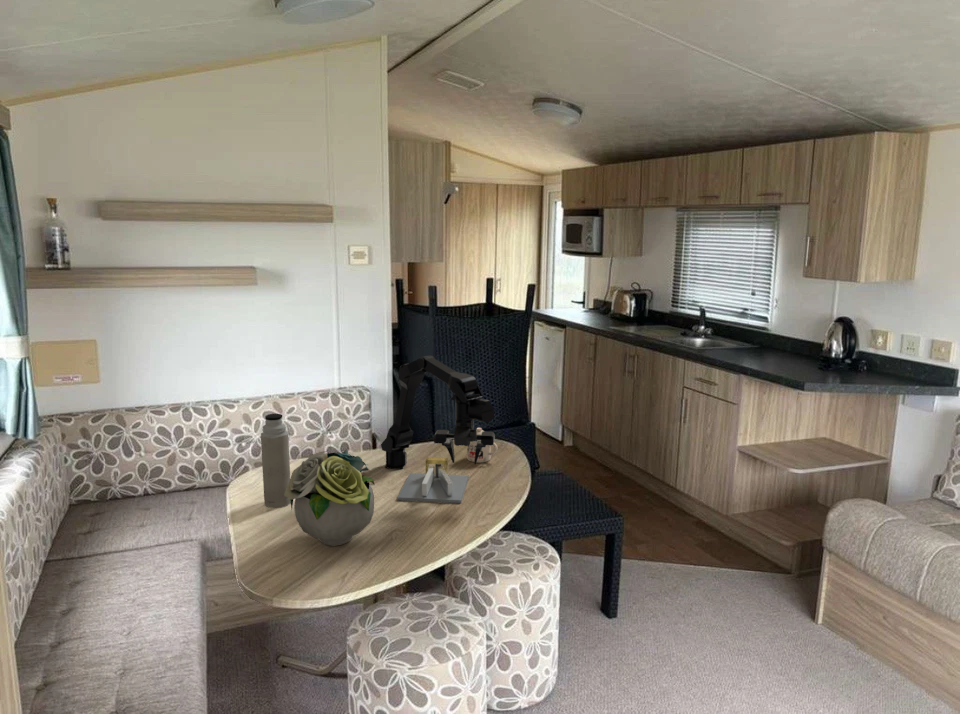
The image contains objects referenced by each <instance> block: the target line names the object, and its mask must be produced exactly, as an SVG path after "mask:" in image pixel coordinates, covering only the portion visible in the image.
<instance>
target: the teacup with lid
mask: <svg viewBox="0 0 960 714" xmlns="http://www.w3.org/2000/svg"><path fill="white" fill-rule="evenodd" d="M475 430H476V431H477V435H482V431H484V430H483V429H482V427H477V428H476V429H475ZM476 445H477V441H473V442H470V445H469V446H466V458H467V460H468V461H469V462H471V463H475V461H474V460H475V453H476ZM491 446H492V445H486V447H482V449H481V451H480V453H479V456H478V459H477V462H476V464H477V463H487V462H489V461H490V460H491V456H494V455H495V454H496V453H497V452H498V448H499V447H498V445H497V443H496V442H494V445H493V446H494V451H493V452H492V447H491Z"/></svg>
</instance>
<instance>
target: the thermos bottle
mask: <svg viewBox="0 0 960 714" xmlns="http://www.w3.org/2000/svg"><path fill="white" fill-rule="evenodd" d="M264 417H265V424H264V425H263V426H262V432H261V433H260V446H261V465H262V481H263V483H262V484H263V485H262V486H263V498H264V506H265V507H267V508H269V509H279V508H284V507H287V506H289V505H291V502H290V498H289V497H286V496H284V494H285V491H286V488H287V486H288V484H289V481H290V479H291V465H290V464H291V463H290V446H289V445H290V444H289V443H290V442H289V431H287V430H286V429H287V427H286V424H285V423H283V414H281V413H268V414H266V415H265V416H264Z"/></svg>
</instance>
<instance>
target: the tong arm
mask: <svg viewBox="0 0 960 714" xmlns="http://www.w3.org/2000/svg"><path fill="white" fill-rule="evenodd" d="M448 475H449V474H448ZM448 475H447V473H446V471H445V469H444V466H442V465H441V466H438V478H439V480H440V482H441V484H442V486H443V488H444V490H445V491H446V493H447V495H448V496H450V495H453V483H452V481H451V480H450V478H449V476H448Z"/></svg>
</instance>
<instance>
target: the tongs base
mask: <svg viewBox="0 0 960 714" xmlns="http://www.w3.org/2000/svg"><path fill="white" fill-rule="evenodd" d="M434 465H435V466H429V469H428V472H427V474H426V473H419V472H418V473H417V472H410V473H409V475H408V477H407V478H406V480H405V482H404V484H403V486H402V488H401V489H400V492H399V493H398V495H397V501H404V502H405V501H406V502H422V503H423V502H424V503H425V502H426V503H431V502H432V503H446V504H447V503H448V504H449V503H450V504H451V503H452V504H462V502H463V499H464V494H465V493H466V491H465V490H466V488H467V485H468V482H469V475H468V474H467V475H465V474H448V476H449V478H450V480H451V481H452V483H453V495H450V496H448V495H447V493H446V491H445V490H444V488H443V486H442V484H441V482H440V480H439V478H438V466H442V464H434Z"/></svg>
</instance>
